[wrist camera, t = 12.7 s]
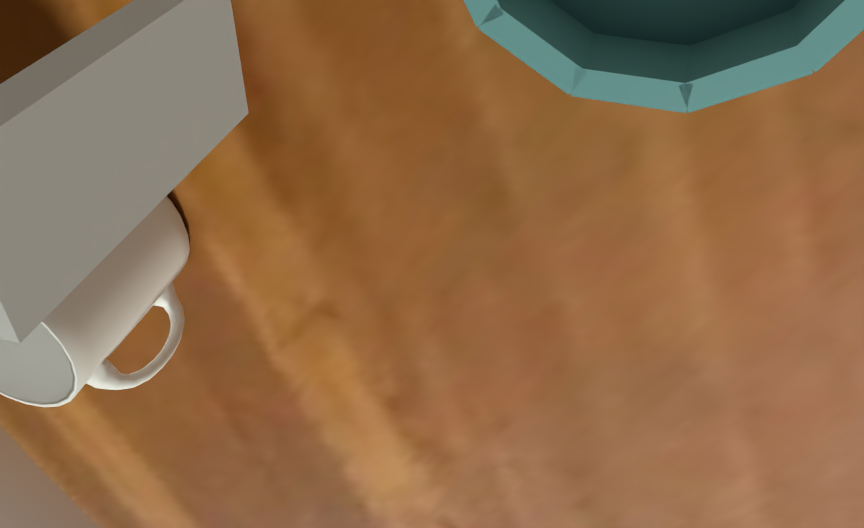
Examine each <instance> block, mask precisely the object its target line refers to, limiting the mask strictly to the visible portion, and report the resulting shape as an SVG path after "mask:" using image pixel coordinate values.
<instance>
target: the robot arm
mask: <svg viewBox="0 0 864 528" xmlns="http://www.w3.org/2000/svg"><path fill="white" fill-rule="evenodd" d="M247 114H248V108H247V101H246V95H245V88H244V82H243V76H242V69H241V63H240V57H239V50H238V44H237V37H236V31H235V25H234V18H233V12H232V5H231V0H134V1H132V2H130V3H129V4H127V5H126V6H124V7H122V8H121V9H119V10H118V11H116V12H114V13H113V14H111V15H110V16H108V17H106V18H105V19H103V20H102V21H100V22H98V23H97V24H95V25H94V26H92V27H90V28H89V29H87V30H86V31H84V32H82V33H81V34H79V35H78V36H76V37H74V38H73V39H71V40H70V41H68V42H67V43H65V44H63V45H62V46H60V47H59V48H57V49H55V50H54V51H52V52H51V53H49V54H47V55H46V56H44V57H43V58H41V59H39V60H38V61H36V62H35V63H33V64H31V65H30V66H28V67H27V68H25V69H23V70H22V71H20V72H19V73H17V74H15V75H14V76H12V77H11V78H9V79H7V80H6V81H4V82H3V83H1V84H0V339H4V340H8V341H12V342H16V343H21V342H22V341H23V340H24V339H25V338H26V337H27V336H28V335H29V334H30V333H31V332H32V331H33V330H34V329H35V328H36V327H37V326H38V325H39V324H40V323H41V322H42V321H43V320H44V319H45V318H46V317H47V316H48V315H49V314H50V313H51V312H52V311H53V310H54V309H55V308H56V307H57V306H58V305H59V304H60V303H61V302H62V301H63V300H64V299H65V298H66V297H67V296H68V295H69V294H70V293H71V292H72V291H73V290H74V289H75V288H76V287H77V286H78V285H79V284H80V283H81V282H82V281H83V280H84V279H85V278H86V277H87V276H88V275H89V273H90V272H91V271H92V270H93V269H94V268H95V267H96V266H97V265H98V264H99V263H100V262H101V261H102V260H103V259H104V258H105V257H106V256H107V255H108V254H109V253H110V252H111V251H112V250H113V249H114V248H115V247H116V246H117V245H118V244H119V243H120V242H121V241H122V240H123V239H124V238H125V237H126V236H127V235H128V234H129V233H130V232H131V231H132V230H133V229H134V228H135V227H136V226H137V225H138V224H139V223H140V222H141V221H142V220H143V219H144V218H145V217H146V216H147V215H148V214H149V213H150V212H151V211H152V210H153V209H154V208H155V207H156V206H157V205H158V204H159V203H160V202H161V201H162V200H163V199H164V198H165V197H166V196H167V195H168V194H169V193H170V192H171V191H172V190H173V189H174V188H175V187H176V186H177V185H178V184H179V183H180V182H181V181H182V180H183V179H184V178H185V177H186V176H187V175H188V174H189V173H190V172H191V171H192V170H193V169H194V167H195V166H196V165H197V164H198V163H199V162H200V161H201V160H202V159H203V158H204V157H205V156H206V155H207V154H208V153H209V152H210V151H211V150H212V149H213V148H214V147H215V146H216V145H217V144H218V143H219V142H220V141H221V140H222V139H223V138H224V137H225V136H226V135H227V134H228V133H229V132H230V131H231V130H232V129H233V128H234V127H235V126H236V125H237V124H238V123H239V122H240V121H241V120H242V119H243V118H244V117H245V116H246V115H247Z"/></svg>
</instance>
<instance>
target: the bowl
mask: <svg viewBox="0 0 864 528" xmlns="http://www.w3.org/2000/svg"><path fill="white" fill-rule="evenodd" d="M464 2H465V4H466V6H467V8H468V10H469V12H470V14H471V17H472V19H473V21H474V23H475V25H476V27H477V26H479V25H480V27H479V28H478V29H479V30H481V31H482V32H483V33H485V34H486V35H487V36H489V37H490V38H492V39H493V40H494V41H496V42H497V43H498V44H500V45H501V46H503V47H504V48H505V49H507V50H508V51H509V52H511V53H512V54H513V55H515V56H516V57H518V58H519V59H520V60H522V61H523V62H524V63H526V64H527V65H529V66H530V67H531V68H533V69H534V70H535V71H537V72H538V73H539V74H541V75H542V76H544V77H545V78H546V79H548V80H549V81H550V82H552V83H553V84H555V85H556V86H557V87H559V88H560V89H561V90H563V91H564V92H566V93H567V94H568V95H569V94H570V93H571V92H572V94H571V96H575V97H582V98H588V99H595V100H602V101H608V102H615V103H622V104H629V105H635V106H642V107H649V108H656V109H662V110H669V111H676V112H682V113H686V111H687V110H688V112H689V113H690V112H693V111H696V110H699V109H702V108H705V107H709V106H712V105H715V104H718V103H721V102H724V101H728V100H731V99H734V98H737V97H740V96H744V95H747V94H750V93H753V92H756V91H759V90H763V89H766V88H769V87H772V86H775V85H778V84H782V83H785V82H788V81H791V80H794V79H798V78H801V77H804V76H807V75H810V74H813V70H814V71H816V72H817V71H818V70H819V69H820V68H821V67H822V66H823V65H824V64H826V63H827V62H828V61H829V60H830V59H831V58H832V57H833V56H834V55H836V54H837V53H838V52H839V51H840V50H841V49H842V48H843V47H844V46H846V45H847V44H848V43H849V42H850V41H851V40H852V39H853V38H854V37H856V36H857V35H858V34H859V33H860V32H861V31H862V30H863V29H864V0H464Z"/></svg>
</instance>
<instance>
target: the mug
mask: <svg viewBox="0 0 864 528" xmlns="http://www.w3.org/2000/svg"><path fill="white" fill-rule="evenodd" d="M189 251H190V249H189V239H188V234H187V231H186V228H185V226H184V223H183V220H182V218H181V216H180V214H179V212H178V211H177V209H176V208H175V206H174V205H173V203H172V201H171V200H170V199H169V198H168V197H167V196H166V197H165V198H164V199H163V200H162V201H161V202H160V203H159V204H158V205H157V206H156V207H155V208H154V209H153V210H152V211H151V212H150V213H149V214H148V215H147V216H146V217H145V218H144V219H143V220H142V221H141V222H140V223H139V224H138V225H137V226H136V227H135V228H134V229H133V230H132V231H131V232H130V233H129V234H128V235H127V236H126V237H125V238H124V239H123V240H122V241H121V242H120V243H119V244H118V245H117V246H116V247H115V248H114V249H113V250H112V251H111V252H110V253H109V254H108V255H107V256H106V257H105V258H104V259H103V260H102V261H101V262H100V263H99V264H98V265H97V266H96V267H95V268H94V269H93V270H92V271H91V272H90V273H89V275H88V276H87V277H86V278H85V279H84V280H83V281H82V282H81V283H80V284H79V285H78V286H77V287H76V288H75V289H74V290H73V291H72V292H71V293H70V294H69V295H68V296H67V297H66V298H65V299H64V300H63V301H62V302H61V303H60V304H59V305H58V306H57V307H56V308H55V309H54V310H53V311H52V312H51V313H50V314H49V315H48V316H47V317H46V318H45V319H44V320H43V321H42V322H41V323H40V324H39V325H38V326H37V327H36V328H35V329H34V330H33V331H32V332H31V333H30V334H29V335H28V336H27V337H26V338H25V339H24V340H23V341H22V342H21V343H16V342H12V341H8V340H4V339H0V394H2V395H4V396H5V397H8V398H10V399H13V400H16V401H19V402H22V403H25V404H28V405H34V406H40V407H56V406H61V405H63V404H65V403H68V402H70V401H71V400H72V399H73V398H74V397H75V395H76V394H77V393H78V392H79V391H80V390H81V388H82V387H83V386H84V385H85V383H87V384H89V385H91V386H93V387H95V388H100V389H111V390H120V389H128V388H134V387H136V386H138V385H140V384H142V383H144V382H146V381H147V380H149V379H150V378H152V377H153V376H154V375H155V374H156V373H157V372H158V371H159V370H161V369H162V368H163V366H164V365H165V364H166V363H167V361H168V360H169V359H170V358H171V356H172V355H173V354H174V352H175V350H176V348H177V346H178V344H179V342H180V340H181V336H182V332H183V327H184V322H185V320H184V313H183V307H182V305H181V303H180V301H179V299H178V297H177V295H176V292H175V288H174V285H173V280H174V279H175V278H176V277H177V276H178V275H179V273H180V272H181V270H182V269H183V267H184V266H185V264H186V263H187V259H188V255H189ZM153 305H155V306H161V307H164V309H165V310H166V311H167V313H168V314H169V317H170V322H171V327H170V333H169V337H168V339H167V341H166V343H165V345H164V347H163V348H162V350H161V351H160V352H159V353H158V355H157V356H156V357H155V359H154V360H152V361H151V362H150V363H149V364H147V365H146V366H145V367H144V368H142V369H140V370H138V371H136V372H133V373H131V374H121V373H120V372H119V371H118V370H117V369H116V368H115V367H114V366H113V365H112V364H111V363H110V362H109V361H108V360H107V359H106V358H107V357H108V356H109V355H110V354H111V353H112V352H113V351H114V350H115V349H116V348H117V347H118V345H119V344H120V343H121V342H122V341H123V340H124V338H125V337H126V336H127V335H128V334H129V333H130V331H131V330H132V329H133V328H134V327H135V326H136V324H137V323H138V322H139V321H140V320H141V319H142V318H143V316H144V315H145V314H146V313H147V312H148V311H149V309H150V308H151V307H152V306H153Z"/></svg>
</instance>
